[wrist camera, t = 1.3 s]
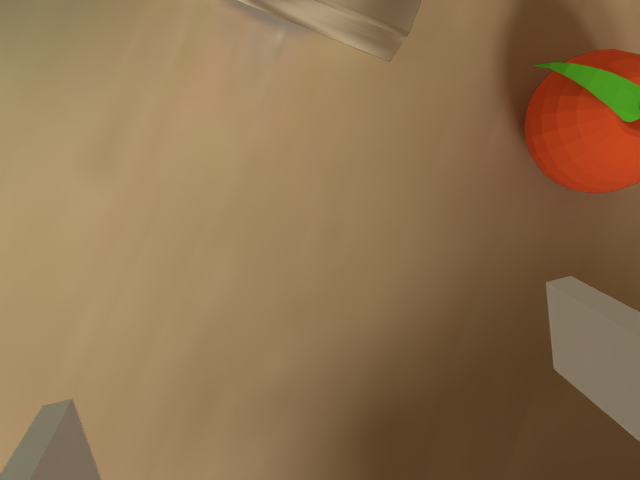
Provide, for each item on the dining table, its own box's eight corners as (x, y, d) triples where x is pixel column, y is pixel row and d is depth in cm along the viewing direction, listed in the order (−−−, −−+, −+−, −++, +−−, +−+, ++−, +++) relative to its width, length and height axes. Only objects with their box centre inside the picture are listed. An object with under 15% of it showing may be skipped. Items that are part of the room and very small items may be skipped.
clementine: (463, 140, 31) (516, 117, 24) (531, 35, 31) (605, -20, 24) (580, 220, 32) (666, 220, 25) (647, 116, 32) (752, 86, 25)
